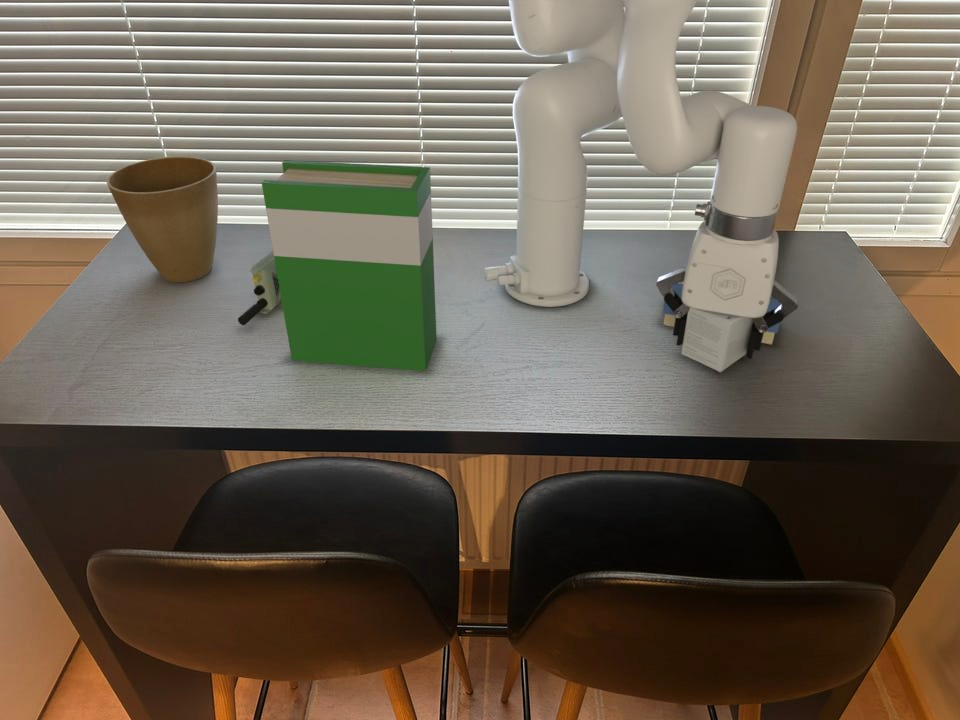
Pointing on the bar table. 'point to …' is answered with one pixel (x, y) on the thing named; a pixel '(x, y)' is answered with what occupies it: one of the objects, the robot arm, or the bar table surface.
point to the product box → (715, 338)
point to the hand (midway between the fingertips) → (714, 345)
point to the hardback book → (355, 262)
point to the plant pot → (171, 212)
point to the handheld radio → (263, 288)
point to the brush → (773, 304)
